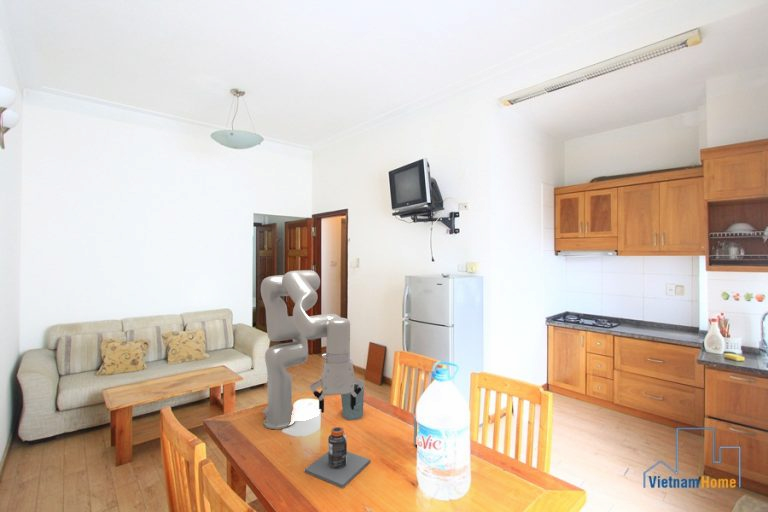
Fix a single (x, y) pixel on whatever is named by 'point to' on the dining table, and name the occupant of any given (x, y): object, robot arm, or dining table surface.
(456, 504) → the dining table surface
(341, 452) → the pill bottle
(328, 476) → the slate mat
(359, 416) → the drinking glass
